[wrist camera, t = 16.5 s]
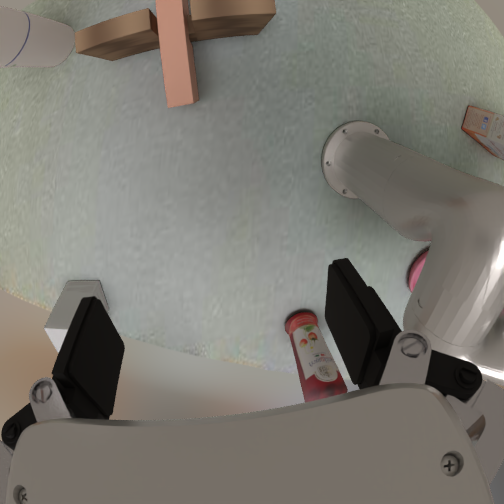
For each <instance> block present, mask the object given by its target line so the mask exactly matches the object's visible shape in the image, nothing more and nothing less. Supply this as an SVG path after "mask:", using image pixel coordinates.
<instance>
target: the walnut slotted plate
mask: <svg viewBox="0 0 504 504" xmlns="http://www.w3.org/2000/svg"><path fill="white" fill-rule="evenodd" d="M190 6H191V15H187V23H188V32H189V40H190V42H194V41H201V40H207V39H215V38H223V37H233V36H245V35H258V34H259V33H260V31H261V30H262V29H263V28H264V27H265V26H266V24H267V23H268V22H269V21H270V20H271V19H272V18H273V16H274V15H275V14H276V8H275V0H190ZM75 44H76V53H79V54H84V55H89V56H93V57H98V58H102V59H106V60H110V61H114V60H117V59H121V58H124V57H127V56H131V55H134V54H138V53H142V52H146V51H150V50H154V49H158V48H160V42H159V33H158V23H157V18H156V17H155V16H154V14H153V13H152V12H151V11H150V9H149V8H147V9H143V10H139V11H136V12H132V13H129V14H125V15H122V16H119V17H116V18H113V19H110V20H107V21H104V22H101V23H98V24H96V25H93V26H90V27H88V28H85V29H83V30H80V31H78V32H75Z"/></svg>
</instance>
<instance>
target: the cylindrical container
mask: <svg viewBox="0 0 504 504" xmlns="http://www.w3.org/2000/svg"><path fill="white" fill-rule="evenodd" d="M74 43H75V33H74V30H73V29H72V28H71V27H70V26H69V25H66V24H63V23H60V22H57V21H54V20H51V19H48V18H45V17H41V16H38V15H34V14H31V13H27V12H23V11H19V10H15V9H11V8H7V7H2V6H0V68H5V67H54V66H57V65H59V64H60V63H62V62H63V61H64V60H65V59H66V58H67V57H68V56H69V54H70V53H71V51H72V49H73V46H74Z"/></svg>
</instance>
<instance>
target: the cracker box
mask: <svg viewBox="0 0 504 504" xmlns="http://www.w3.org/2000/svg"><path fill="white" fill-rule="evenodd" d="M462 130H464V131H465V132H466V133H468V134H469V135H470V136H471V137H473V138H474V139H475V140H476V141H477V142H479V143H480V144H481V145H482V146H483V147H484V148H486V149H487V150H488V151H489V152H490V153H491V154H492V155H494V156H496V157H498V158H500V159H502V160H504V116H503V115H500V114H497V113H493V112H490V111H487V110H484V109H480V108H477V107H473V106H468V109H467V112H466V116H465V119H464V122H463V126H462Z"/></svg>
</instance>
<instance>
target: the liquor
mask: <svg viewBox="0 0 504 504" xmlns="http://www.w3.org/2000/svg"><path fill="white" fill-rule="evenodd" d="M317 323H318V319H317V317H316V316H315V315H314V314H312V313H308V312H302V313H298V314H295V315H294V316H293V317H291V318H290V319H289V320H288V321H287V323H286V325H285V331H286V332H287V333H288V334H289V336H290V340H291V344H292V347H293V351H294V356H295V360H296V364H297V369H298V373H299V378H300V383H301V387H302V391H303V395H304V399H305V402H310V401H314V400H319V399H323V398H328V397H332V396H336V395H340V394H344V393H347V387H346V385H345V382H344V380H343V378H342V376H341V374H340V371H339V369H338V367H337V365H336V363H335V361H334V359H333V357H332V355H331V353H330V351H329V349H328V347H327V344H326V342H325V340H324V338H323V336H322V334H321V331H320V329H319V327H318V325H317Z"/></svg>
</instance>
